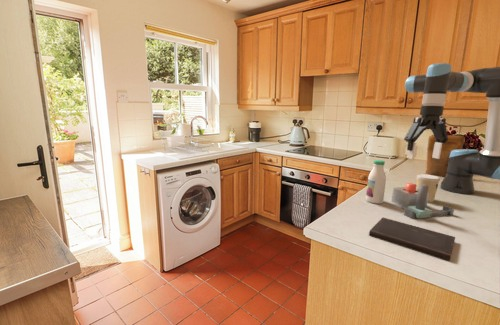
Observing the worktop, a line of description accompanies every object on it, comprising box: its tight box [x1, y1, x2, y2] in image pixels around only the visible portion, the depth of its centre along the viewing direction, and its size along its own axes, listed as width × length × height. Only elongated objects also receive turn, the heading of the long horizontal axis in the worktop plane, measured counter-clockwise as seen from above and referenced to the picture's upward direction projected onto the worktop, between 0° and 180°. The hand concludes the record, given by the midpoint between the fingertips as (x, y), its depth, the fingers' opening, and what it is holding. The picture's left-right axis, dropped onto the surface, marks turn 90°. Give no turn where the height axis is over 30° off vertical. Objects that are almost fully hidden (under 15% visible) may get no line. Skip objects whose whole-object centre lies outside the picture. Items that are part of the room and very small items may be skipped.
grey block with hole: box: [390, 186, 429, 209], centre depth 123 cm, size 10×10×7 cm
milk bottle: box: [365, 159, 387, 205], centre depth 125 cm, size 8×8×20 cm
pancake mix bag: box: [425, 134, 466, 178], centre depth 177 cm, size 7×19×28 cm, turn 49°
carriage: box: [408, 184, 433, 219], centre depth 109 cm, size 6×6×13 cm
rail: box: [403, 205, 455, 220], centre depth 111 cm, size 21×4×3 cm, turn 102°
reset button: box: [405, 182, 417, 193], centre depth 122 cm, size 4×4×6 cm
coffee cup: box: [415, 173, 440, 203], centre depth 130 cm, size 9×9×12 cm
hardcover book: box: [368, 217, 456, 262], centre depth 91 cm, size 16×23×2 cm
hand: (423, 158), depth 108 cm, fingers open, 13 cm apart
